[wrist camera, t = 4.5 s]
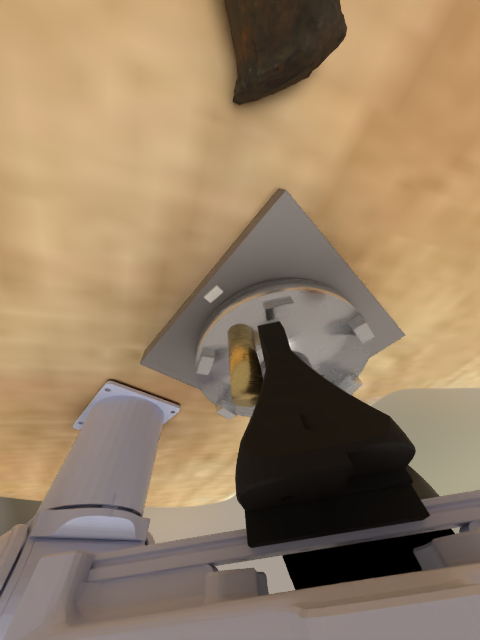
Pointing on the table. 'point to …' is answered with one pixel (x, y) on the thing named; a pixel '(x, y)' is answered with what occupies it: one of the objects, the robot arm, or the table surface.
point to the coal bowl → (363, 554)
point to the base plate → (260, 266)
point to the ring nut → (302, 332)
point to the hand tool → (281, 42)
